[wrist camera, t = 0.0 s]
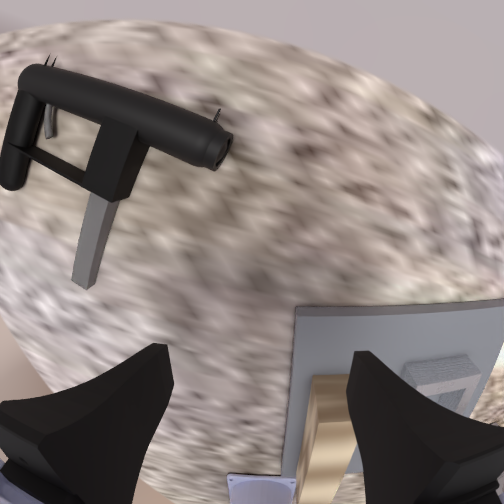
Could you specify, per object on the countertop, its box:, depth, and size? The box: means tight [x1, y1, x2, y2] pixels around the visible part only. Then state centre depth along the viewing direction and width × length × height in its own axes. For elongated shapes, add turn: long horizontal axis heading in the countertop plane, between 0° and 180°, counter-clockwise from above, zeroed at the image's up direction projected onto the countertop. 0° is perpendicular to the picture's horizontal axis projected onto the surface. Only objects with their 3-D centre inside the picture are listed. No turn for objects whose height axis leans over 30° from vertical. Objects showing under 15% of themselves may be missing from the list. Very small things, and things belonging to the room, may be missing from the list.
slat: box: [296, 374, 357, 504], centre depth 20 cm, size 14×3×5 cm, turn 0°
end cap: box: [400, 354, 482, 415], centre depth 19 cm, size 6×6×3 cm
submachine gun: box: [0, 55, 233, 290], centre depth 19 cm, size 3×20×16 cm
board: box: [281, 299, 504, 477], centre depth 22 cm, size 20×20×2 cm
